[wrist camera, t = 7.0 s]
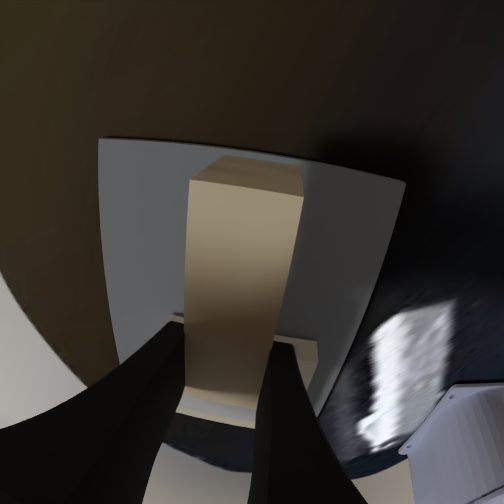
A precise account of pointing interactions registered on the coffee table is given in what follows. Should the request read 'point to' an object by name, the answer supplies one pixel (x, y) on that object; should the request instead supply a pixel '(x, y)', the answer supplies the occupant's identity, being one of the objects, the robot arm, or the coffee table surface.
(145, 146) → the mat
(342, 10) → the coffee table surface
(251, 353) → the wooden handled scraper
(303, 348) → the tile
